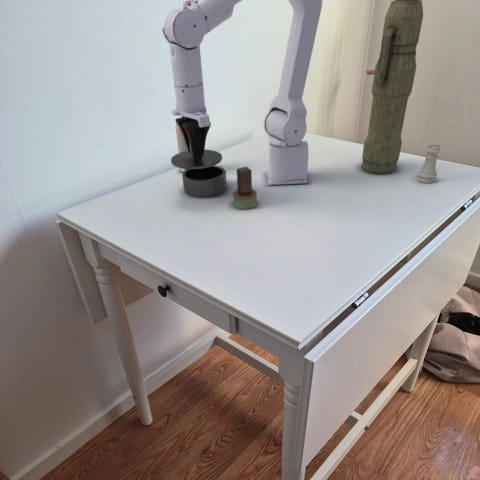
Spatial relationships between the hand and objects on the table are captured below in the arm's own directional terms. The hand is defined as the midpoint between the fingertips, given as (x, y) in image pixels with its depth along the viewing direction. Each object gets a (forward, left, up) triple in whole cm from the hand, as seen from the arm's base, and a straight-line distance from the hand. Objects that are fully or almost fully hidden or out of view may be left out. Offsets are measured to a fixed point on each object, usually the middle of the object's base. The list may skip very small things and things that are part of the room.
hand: (196, 154), depth 92 cm
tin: (-1, -6, -10) cm, 12 cm away
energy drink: (+4, -19, -11) cm, 22 cm away
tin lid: (0, 0, -1) cm, 1 cm away
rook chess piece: (-54, -5, -11) cm, 56 cm away
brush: (-10, +4, -10) cm, 15 cm away
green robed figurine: (-45, -14, -11) cm, 49 cm away
